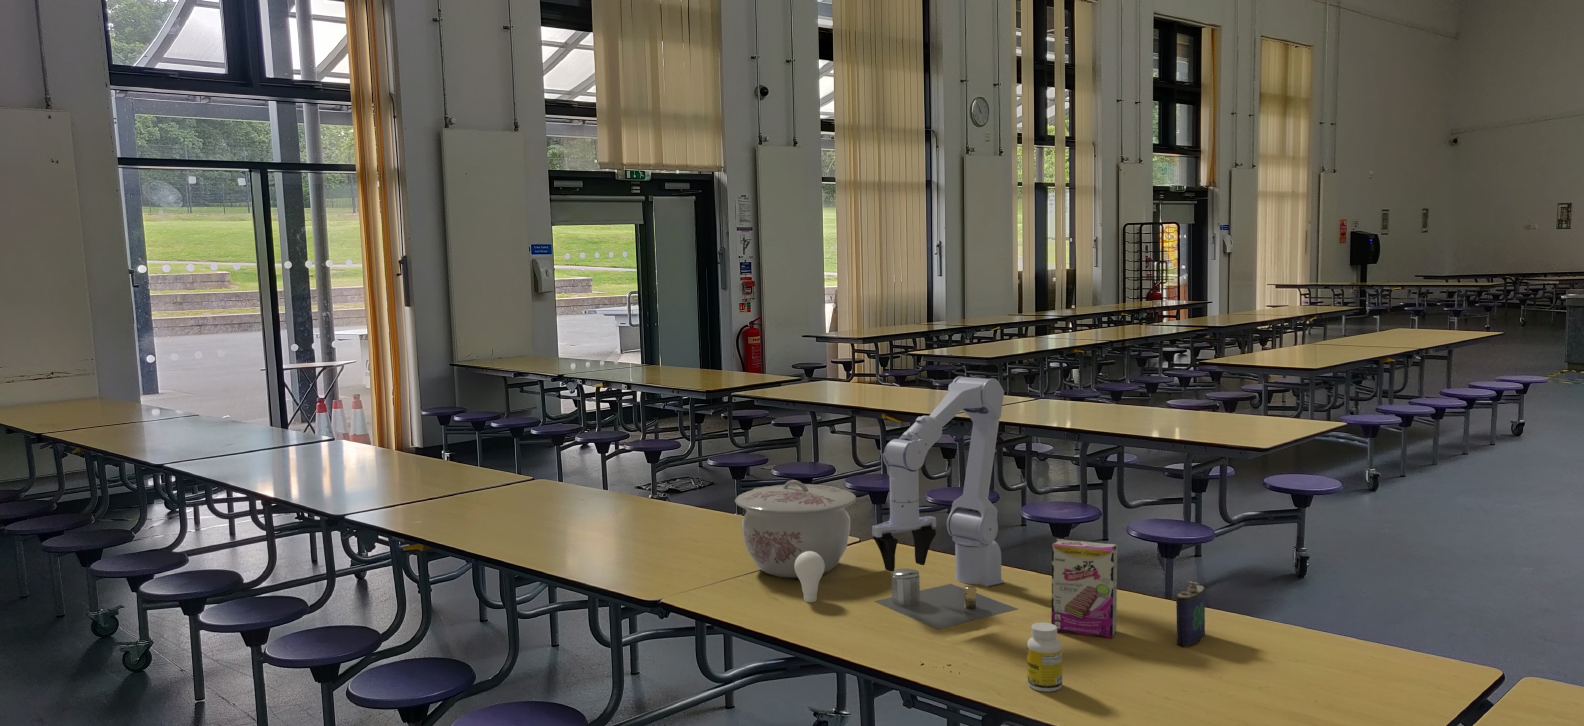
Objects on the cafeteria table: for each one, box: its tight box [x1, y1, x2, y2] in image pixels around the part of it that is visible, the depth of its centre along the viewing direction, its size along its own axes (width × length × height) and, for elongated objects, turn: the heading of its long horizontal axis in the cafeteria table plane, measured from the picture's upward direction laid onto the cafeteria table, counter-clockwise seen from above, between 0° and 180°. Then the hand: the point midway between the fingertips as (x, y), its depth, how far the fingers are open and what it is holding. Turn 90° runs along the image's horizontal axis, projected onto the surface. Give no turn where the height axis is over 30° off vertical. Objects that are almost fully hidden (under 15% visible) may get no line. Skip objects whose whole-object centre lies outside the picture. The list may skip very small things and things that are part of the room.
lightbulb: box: [794, 551, 825, 603], centre depth 207 cm, size 6×6×11 cm
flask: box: [1175, 580, 1206, 648], centre depth 182 cm, size 9×3×11 cm, turn 138°
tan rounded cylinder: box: [962, 585, 977, 609], centre depth 200 cm, size 3×2×4 cm
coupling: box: [891, 568, 921, 606], centre depth 204 cm, size 5×5×6 cm
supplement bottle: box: [1026, 622, 1063, 693], centre depth 164 cm, size 5×5×10 cm
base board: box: [873, 583, 1018, 630], centre depth 202 cm, size 20×20×1 cm
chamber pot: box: [734, 479, 857, 579], centre depth 232 cm, size 28×28×21 cm
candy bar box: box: [1050, 538, 1118, 639], centre depth 188 cm, size 11×5×16 cm, turn 65°
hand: (905, 567), depth 204 cm, fingers open, 7 cm apart
